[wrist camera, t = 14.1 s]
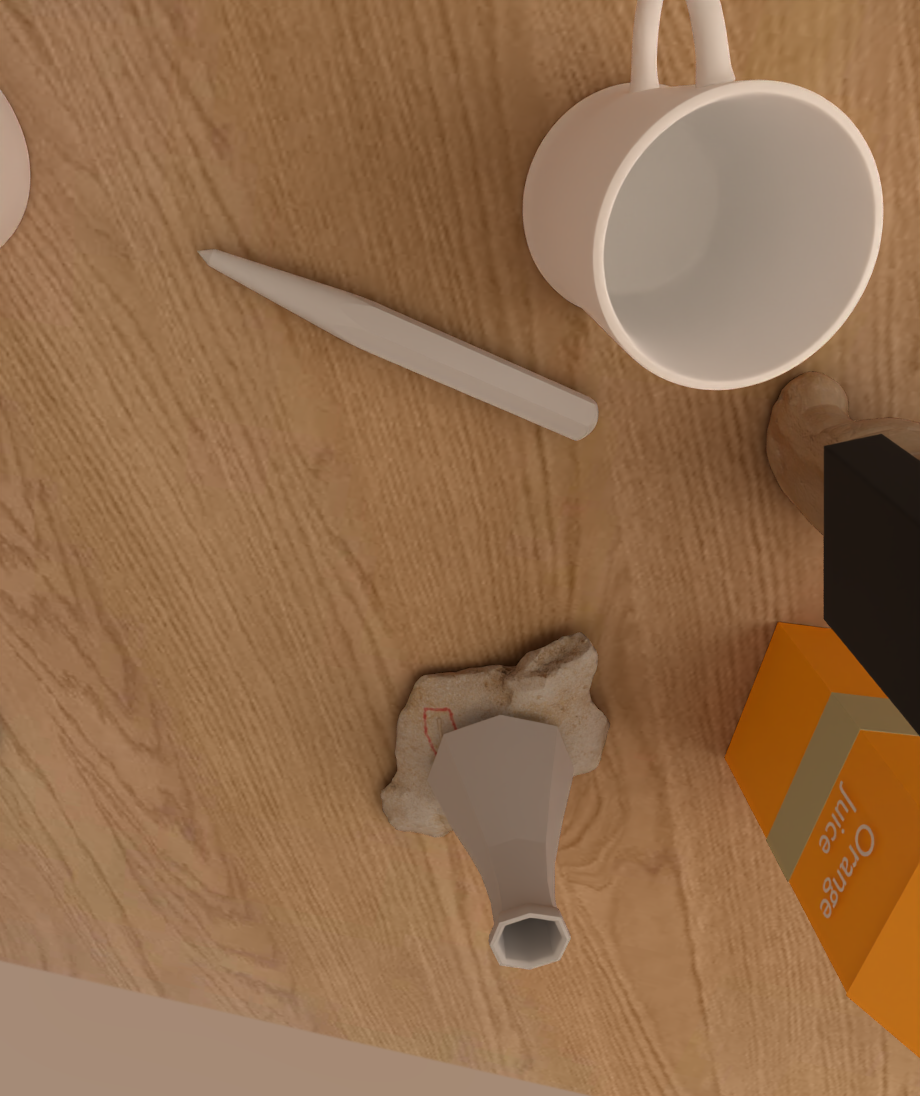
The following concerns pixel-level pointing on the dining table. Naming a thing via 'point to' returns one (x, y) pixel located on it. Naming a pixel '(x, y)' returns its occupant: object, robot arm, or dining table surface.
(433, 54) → the dining table surface
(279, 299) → the tool
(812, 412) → the figurine
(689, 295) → the mug
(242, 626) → the dining table surface
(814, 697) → the orange juice
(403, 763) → the stone
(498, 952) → the flask
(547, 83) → the dining table surface
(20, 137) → the cup
